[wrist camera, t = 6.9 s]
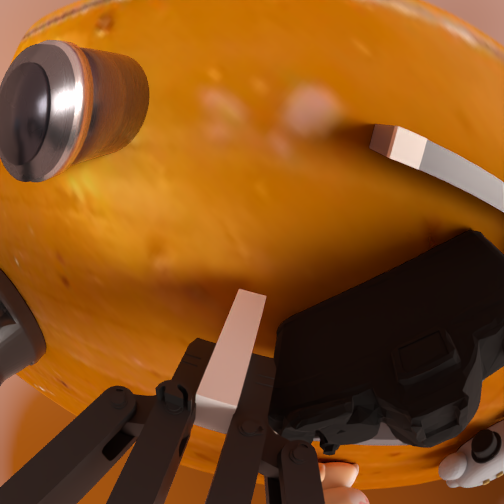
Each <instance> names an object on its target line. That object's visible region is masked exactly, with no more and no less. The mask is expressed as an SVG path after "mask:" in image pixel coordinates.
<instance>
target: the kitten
mask: <svg viewBox="0 0 504 504" xmlns="http://www.w3.org/2000/svg"><path fill="white" fill-rule="evenodd" d="M318 465H319V470H320V476H321V482H322V488H323V494H324V500H325V504H369V501H368V499H367V497H366V496H365V495H364V494H363V493H362V492H361V491H360V490H358V489H355V488H351V485H352V484H353V482H354V481H355V479H356V476H357V474H358V472H359V466H358V464H356V463H354V464H352V465H351V464H349V463H344V462H329V463H318Z"/></svg>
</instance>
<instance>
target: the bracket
mask: <svg viewBox="0 0 504 504" xmlns="http://www.w3.org/2000/svg"><path fill="white" fill-rule="evenodd" d="M369 148H370V149H372V150H374V151H376V152H378V153H380V154H382V155H384V156H386V157H388V158H390V159H393V160H395V161H398V162H401V163H403V164H406V165H408V166H411V167H413V168H415V169H418V170H421V171H424V172H426V173H428V174H430V175H433V176H435V177H437V178H439V179H441V180H444V181H446V182H448V183H450V184H452V185H454V186H456V187H458V188H460V189H462V190H464V191H466V192H468V193H470V194H472V195H474V196H476V197H478V198H479V199H481V200H483V201H485V202H487V203H488V204H490V205H492V206H494V207H495V208H497V209H499V210H501V211H502V212H504V182H502V181H501V180H499V179H498V178H496V177H495V176H493V175H492V174H490V173H488V172H487V171H485V170H483V169H482V168H480V167H478V166H477V165H475V164H473V163H471V162H470V161H468V160H466V159H464V158H462V157H461V156H459V155H457V154H455V153H453V152H451V151H449V150H447V149H445V148H443V147H441V146H439V145H437V144H435V143H433V142H431V141H429V140H427V138H424V137H422V136H420V135H418V134H415V133H413V132H411V131H409V130H406V129H404V128H401V127H399V126H391V125H381V124H375V127H374V131H373V134H372V138H371V142H370V146H369ZM274 432H275V431H274ZM275 433H276V432H275ZM313 440H314V441H320V438H314V439H313ZM357 444H358V445H410V444H405V443H402V442H401V441H400V440H398V439H396V438H395V436H394V435H393V434H392V432H391V430H390V428H389V427H388V426H387V425H386V424H385V423H383V422H381V423H380V428H379V431H378V434H377V435H376V436H375V437H373V438H372V439H370V440H367V441H364V442H361V443H357Z"/></svg>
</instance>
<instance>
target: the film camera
mask: <svg viewBox="0 0 504 504" xmlns="http://www.w3.org/2000/svg"><path fill="white" fill-rule="evenodd" d="M273 359H274V362H275V366H276V374H275V379H274V385H273V390H272V395H271V401H270V406H269V411H268V423H269V426H270V427H271V429H272V430H273V431H275V432H276V433H277V434H278V435H280V436H282V437H284V438H286V439H288V440H290V441H293V440H304V441H306V442H308V443H310V444H311V443H312V441H313V439H314V438H320V447H321V448H322V449H323V450H324V451H323V454H326V455H333V454H335V451H336V450H337V449H338V448H339V446H340V445H348V444H357V443H361V442H364V441H367V440H370V439H372V438H373V437H375V436H376V435H377V434H378V431H379V428H380V423H381V422H383V423H385V424H386V425H387V426H388V427H389V428H390V430H391V432H392V434H393V435H394V436H395V438H396V439H398V440H400V441H401V442H402V443H405V444H410V445H412V446H417V447H433V446H435V445H437V444H440V443H442V442H444V441H446V440H449V439H451V438H454V437H456V436H457V435H459V434H460V433H461V432H462V431H463V430H464V429H465V428H466V426H467V425H468V423H469V422H470V421H471V419H472V418H473V417H474V415H475V413H476V411H477V409H478V407H479V403H480V397H481V388H482V381H483V380H484V379H485V378H487V377H488V376H489V375H491V374H493V373H494V372H496V371H497V370H499V369H500V368H502V367H503V366H504V255H503V254H502V253H501V252H500V251H499V250H498V249H497V248H496V247H495V246H494V245H493V244H492V243H491V242H490V241H489V240H487V239H486V238H485V237H484V236H483V234H482V233H481V232H478V231H472V230H468V231H467V232H465V233H463V234H461V235H459V236H457V237H455V238H453V239H451V240H449V241H447V242H445V243H443V244H441V245H438V246H436V247H434V248H433V249H431V250H429V251H427V252H425V253H424V254H422V255H420V256H418V257H416V258H414V259H412V260H410V261H408V262H406V263H404V264H402V265H400V266H398V267H396V268H394V269H392V270H390V271H388V272H386V273H383V274H381V275H379V276H377V277H375V278H373V279H371V280H369V281H367V282H365V283H363V284H361V285H358V286H356V287H354V288H352V289H350V290H348V291H345V292H343V293H341V294H339V295H337V296H335V297H332V298H330V299H328V300H326V301H323V302H321V303H319V304H317V305H315V306H313V307H311V308H309V309H306V310H304V311H302V312H300V313H298V314H296V315H294V316H292V317H290V318H288V319H286V320H285V321H284V322H283V323H282V324H281V325H280V326H279V327H278V330H277V341H276V346H275V352H274V358H273Z"/></svg>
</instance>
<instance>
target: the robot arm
mask: <svg viewBox="0 0 504 504" xmlns="http://www.w3.org/2000/svg"><path fill="white" fill-rule="evenodd" d="M266 297H267V296H265V295H261V294H257V293H254V292H250V291H246V290H242V289H239V290H238V293H237V295H236V297H235V300H234V302H233V305H232V307H231V310H230V312H229V315H228V317H227V319H226V322H225V324H224V327H223V329H222V332H221V334H220V337H219V339H218V341H217V344H216V343H213V342H209V341H206V340H203V339H200V338H197V339H195V340H194V341H193V342H192V343H190V344H189V346H188V348H187V350H186V352H185V354H184V356H183V358H182V360H181V362H180V364H179V366H178V368H177V370H176V372H175V374H174V376H173V378H172V380H167V381H164V382H162V383H160V384H159V385H158V386H157V387H156V388H155V389H156V395H154V396H144V395H135V394H133V393H132V392H131V391H130V390H129V389H127V388H125V387H123V386H113V387H110V388H109V389H107V390H106V391H104V392H103V393H102V394H101V395H100V396H99V397H98V398H97V399H96V400H95V401H94V402H93V403H91V404H90V405H89V406H88V407H87V408H86V409H85V410H84V411H83V412H82V413H81V414H80V415H78V416H77V417H76V418H75V419H74V420H73V421H72V422H71V423H70V424H69V425H68V426H66V427H65V428H64V429H63V430H62V431H61V432H60V433H59V434H58V435H57V436H56V437H55V438H53V439H52V440H51V441H50V442H49V443H48V444H47V445H46V446H45V447H44V448H43V449H41V450H40V451H39V452H38V453H37V454H36V455H35V456H34V457H33V458H32V459H31V460H29V461H28V462H27V463H26V464H25V465H24V466H23V467H22V468H21V469H20V470H19V471H17V472H16V473H15V474H14V475H13V476H12V477H11V478H10V479H9V480H8V481H7V482H5V483H4V484H3V485H2V486H1V487H0V504H77V503H78V502H79V501H80V500H81V499H82V498H83V497H84V496H85V495H86V493H88V492H89V490H91V489H92V487H93V486H94V485H95V484H96V483H97V482H98V481H99V480H100V479H101V478H102V477H103V476H104V475H105V474H106V473H107V472H108V471H109V470H110V468H112V466H113V465H114V464H115V463H116V462H117V461H118V460H119V459H120V458H121V457H122V456H123V455H124V454H125V452H126V451H127V450H128V449H129V448H130V447H131V446H132V445H133V444H134V443H135V442H136V443H135V445H134V447H133V449H132V451H131V453H130V455H129V457H128V459H127V461H126V463H125V465H124V467H123V470H122V471H121V474H120V476H119V478H118V480H117V482H116V484H115V486H114V488H113V490H112V492H111V495H110V497H109V499H108V501H107V503H106V504H164V502H165V499H166V497H167V494H168V492H169V489H170V487H171V484H172V482H173V479H174V477H175V474H176V471H177V469H178V466H179V464H180V461H181V459H182V456H183V453H184V451H185V448H186V446H187V443H188V440H189V438H190V433H191V429H192V426H193V424H194V425H198V426H201V427H204V428H207V429H210V430H214V431H217V432H220V433H224V434H227V435H226V438H225V442H224V445H223V448H222V451H221V455H220V458H219V461H218V464H217V467H216V471H215V474H214V477H213V480H212V483H211V486H210V490H209V493H208V496H207V499H206V502H205V504H251V500H252V496H253V492H254V488H255V484H256V479H257V475H258V472H259V473H260V474H262V475H264V478H265V491H266V503H267V504H325V500H324V494H323V488H322V482H321V476H320V470H319V465H318V459H317V453H316V451H315V448H314V447H313V446H312V445H311V444H310V443H308V442H306V441H304V440H293V441H290V440H288V439H286V438H284V437H282V436H280V435H278V434H277V433H275V432H274V431H273V430H272V429H271V427H270V426H269V423H268V411H269V406H270V401H271V395H272V390H273V385H274V379H275V374H276V366H275V362H274V359H273V358H269V357H265V356H261V355H257V354H253V353H252V350H253V347H254V343H255V339H256V335H257V332H258V328H259V324H260V320H261V316H262V312H263V308H264V305H265V301H266ZM45 352H46V344H45V340H44V337H43V335H42V333H41V330H40V328H39V326H38V324H37V322H36V320H35V318H34V317H33V315H32V313H31V311H30V310H29V308H28V306H27V305H26V303H25V302H24V300H23V299H22V297H21V296H20V294H19V293H18V291H17V290H16V288H15V287H14V286H13V284H12V283H11V282H10V280H9V279H8V278H7V277H6V275H5V274H4V273H3V272H2V271H1V270H0V386H1V384H2V383H3V382H4V381H5V380H6V379H7V378H9V377H11V376H12V375H14V374H16V373H17V372H19V371H21V370H22V369H24V368H25V367H27V366H28V365H33V364H35V363H37V362H38V360H39V359H40V358H41V357H42V356H43V355H44V353H45Z"/></svg>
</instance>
